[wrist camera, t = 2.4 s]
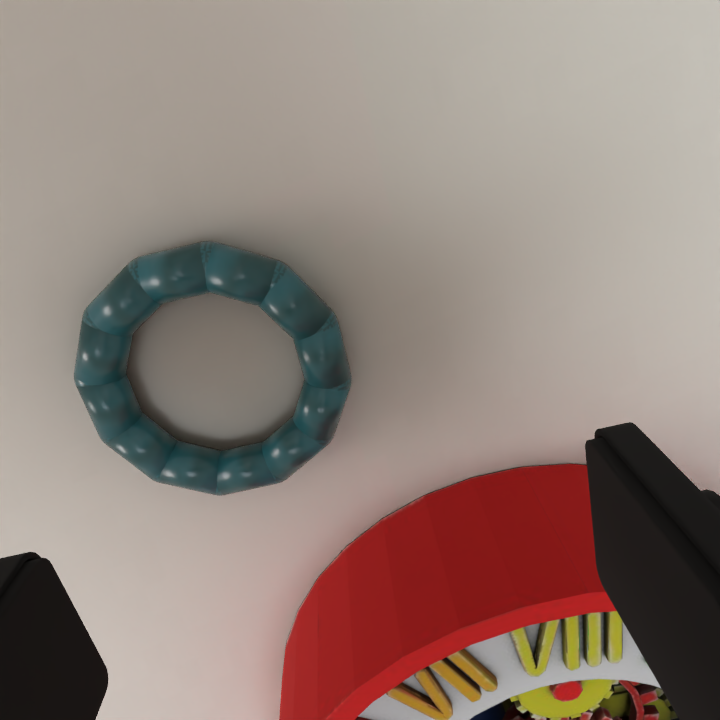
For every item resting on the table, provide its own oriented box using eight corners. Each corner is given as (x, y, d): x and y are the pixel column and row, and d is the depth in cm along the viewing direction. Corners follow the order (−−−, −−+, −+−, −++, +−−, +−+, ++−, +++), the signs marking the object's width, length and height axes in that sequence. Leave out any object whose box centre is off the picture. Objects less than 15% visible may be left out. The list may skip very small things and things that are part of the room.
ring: (142, 498, 21) (130, 524, 19) (43, 275, 18) (21, 289, 16) (370, 447, 20) (373, 470, 19) (311, 212, 17) (310, 220, 16)
